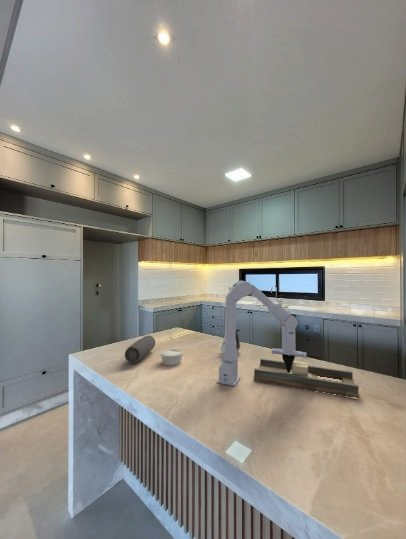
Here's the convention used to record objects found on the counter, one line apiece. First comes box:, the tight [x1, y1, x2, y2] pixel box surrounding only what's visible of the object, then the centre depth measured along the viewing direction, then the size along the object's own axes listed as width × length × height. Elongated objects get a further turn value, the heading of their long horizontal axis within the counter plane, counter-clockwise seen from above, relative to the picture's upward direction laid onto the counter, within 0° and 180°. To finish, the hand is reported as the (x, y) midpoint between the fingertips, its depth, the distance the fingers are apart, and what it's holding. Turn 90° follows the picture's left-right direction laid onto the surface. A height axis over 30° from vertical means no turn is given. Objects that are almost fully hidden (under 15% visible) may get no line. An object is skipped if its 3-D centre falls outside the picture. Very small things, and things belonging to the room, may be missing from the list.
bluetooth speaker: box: [124, 335, 157, 364], centre depth 133 cm, size 23×9×10 cm, turn 171°
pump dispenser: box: [223, 328, 241, 352], centre depth 142 cm, size 10×10×15 cm
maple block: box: [292, 360, 309, 377], centre depth 105 cm, size 6×6×5 cm
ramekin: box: [160, 349, 183, 367], centre depth 127 cm, size 11×11×5 cm
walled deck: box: [253, 358, 360, 399], centre depth 105 cm, size 17×39×4 cm, turn 66°
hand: (288, 371), depth 107 cm, fingers closed
